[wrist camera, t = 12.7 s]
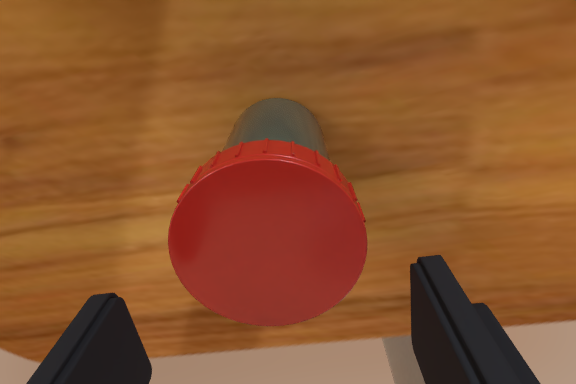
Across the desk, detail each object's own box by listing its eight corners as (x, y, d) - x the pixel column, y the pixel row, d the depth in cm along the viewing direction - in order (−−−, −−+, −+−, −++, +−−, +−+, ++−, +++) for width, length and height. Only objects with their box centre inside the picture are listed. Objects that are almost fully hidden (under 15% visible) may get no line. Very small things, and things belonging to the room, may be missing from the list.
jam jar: (336, 166, 23) (369, 272, 14) (255, 198, 24) (234, 318, 15) (302, 82, 21) (313, 139, 12) (214, 120, 22) (158, 202, 13)
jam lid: (162, 263, 15) (145, 296, 13) (210, 108, 12) (197, 123, 11) (316, 312, 16) (319, 347, 14) (392, 178, 13) (407, 202, 12)
